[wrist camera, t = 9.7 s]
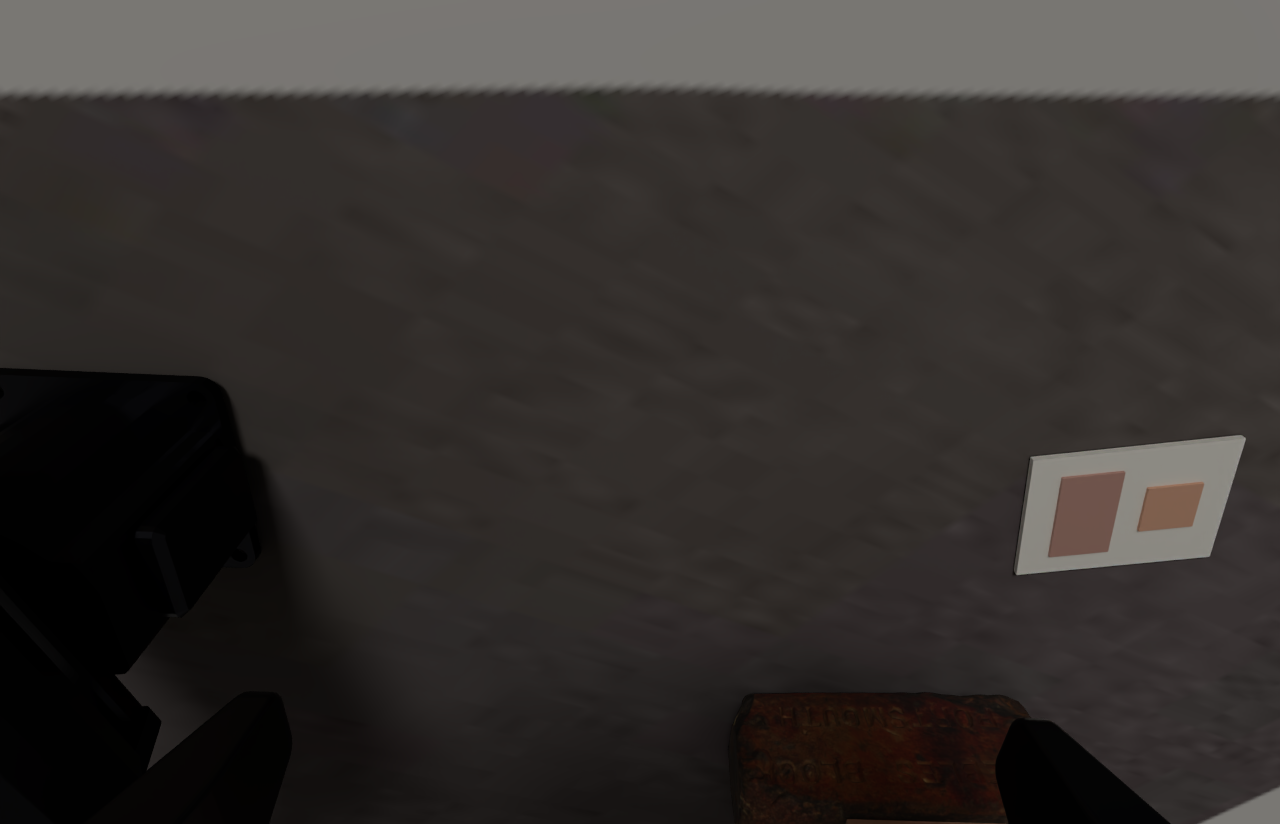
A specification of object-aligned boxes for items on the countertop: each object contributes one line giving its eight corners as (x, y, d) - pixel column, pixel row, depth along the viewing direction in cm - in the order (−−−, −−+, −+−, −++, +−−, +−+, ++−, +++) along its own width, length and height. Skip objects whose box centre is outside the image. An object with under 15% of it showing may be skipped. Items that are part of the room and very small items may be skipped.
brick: (1022, 684, 27) (1090, 806, 23) (998, 756, 29) (1056, 881, 25) (729, 684, 27) (744, 805, 23) (724, 755, 29) (737, 879, 25)
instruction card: (1013, 570, 24) (1017, 577, 24) (1030, 457, 22) (1034, 462, 22) (1205, 552, 24) (1211, 558, 23) (1240, 434, 22) (1248, 440, 21)
